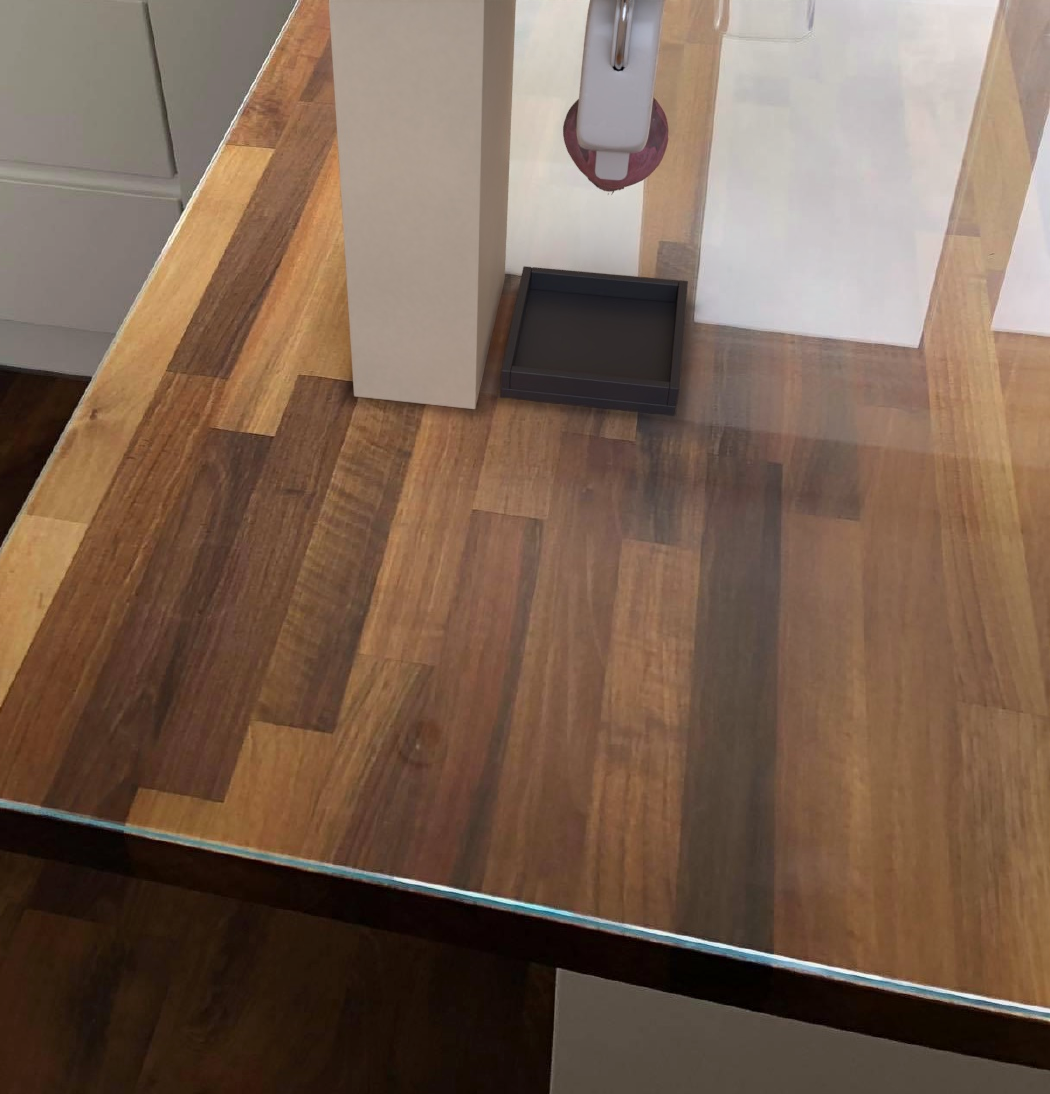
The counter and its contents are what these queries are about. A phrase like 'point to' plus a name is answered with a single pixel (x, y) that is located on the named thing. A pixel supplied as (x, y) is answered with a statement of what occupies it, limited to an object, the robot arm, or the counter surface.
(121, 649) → the counter surface
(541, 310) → the pan
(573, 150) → the vegetable
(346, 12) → the column
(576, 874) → the counter surface
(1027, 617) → the counter surface
